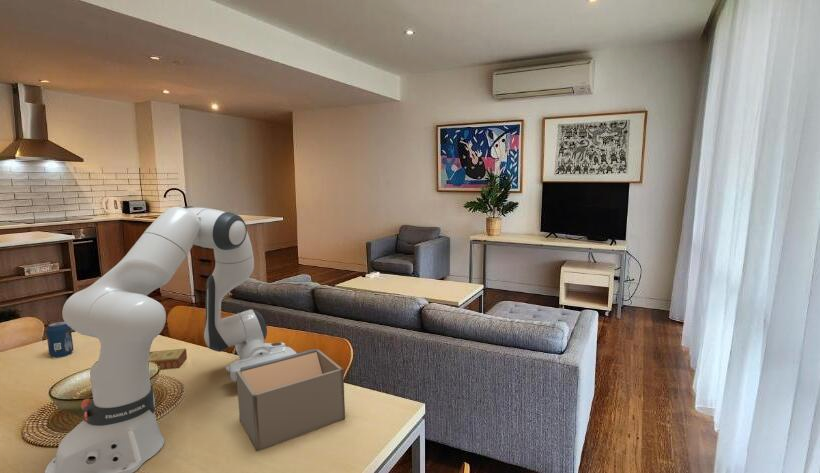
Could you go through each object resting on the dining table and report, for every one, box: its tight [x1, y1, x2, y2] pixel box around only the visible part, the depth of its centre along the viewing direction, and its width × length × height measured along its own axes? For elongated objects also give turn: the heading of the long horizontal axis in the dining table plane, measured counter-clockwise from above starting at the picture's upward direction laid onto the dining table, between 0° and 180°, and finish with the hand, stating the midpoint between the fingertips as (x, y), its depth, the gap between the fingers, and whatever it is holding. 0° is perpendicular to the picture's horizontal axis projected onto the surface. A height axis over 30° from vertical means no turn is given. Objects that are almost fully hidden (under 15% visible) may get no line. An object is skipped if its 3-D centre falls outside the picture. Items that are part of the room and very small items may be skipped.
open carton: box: [236, 349, 346, 452], centre depth 112 cm, size 23×16×14 cm
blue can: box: [45, 320, 74, 359], centre depth 155 cm, size 7×7×12 cm
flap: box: [240, 348, 322, 393], centre depth 115 cm, size 21×1×14 cm
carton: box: [149, 348, 188, 371], centre depth 146 cm, size 8×16×4 cm, turn 102°
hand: (271, 373), depth 126 cm, fingers closed
